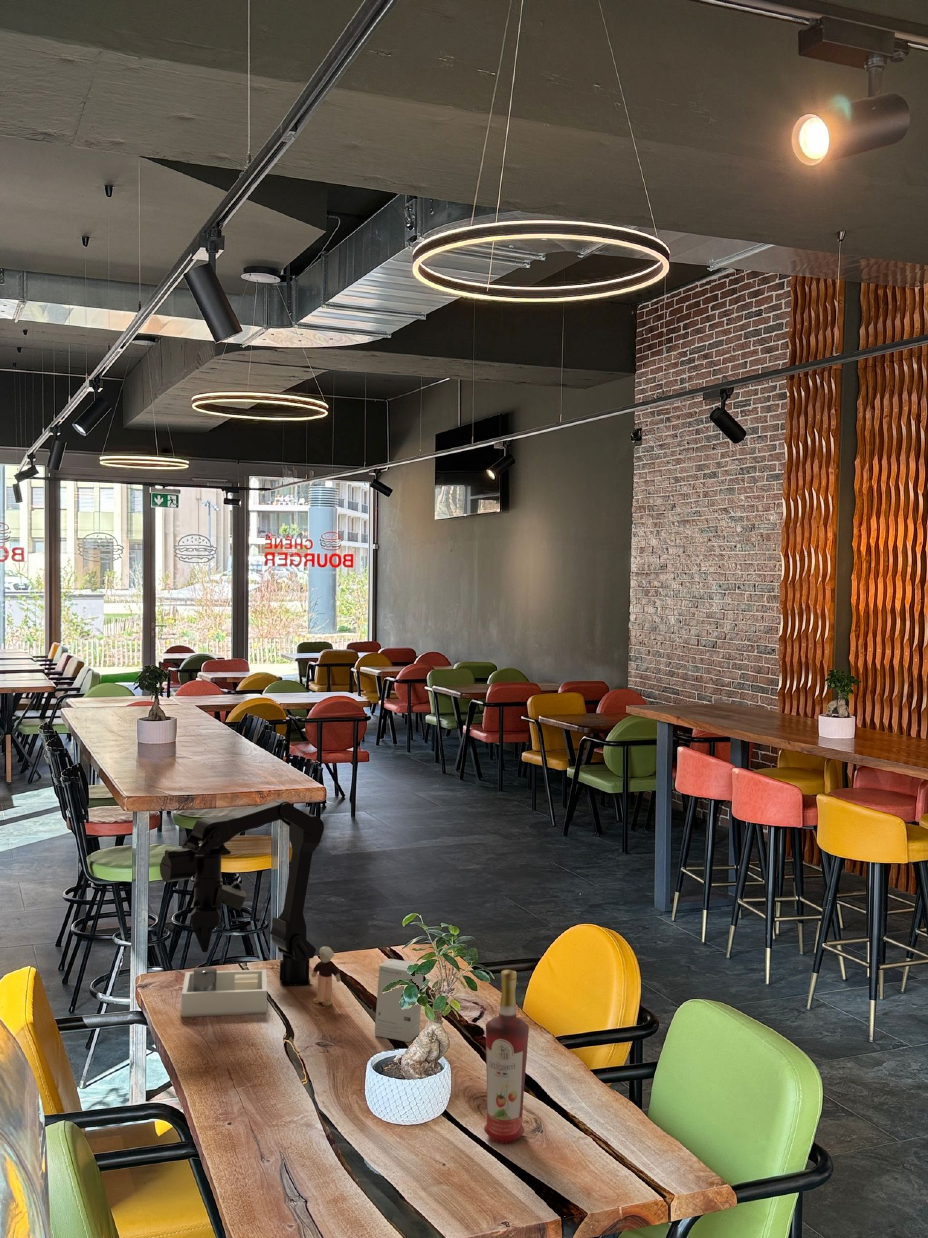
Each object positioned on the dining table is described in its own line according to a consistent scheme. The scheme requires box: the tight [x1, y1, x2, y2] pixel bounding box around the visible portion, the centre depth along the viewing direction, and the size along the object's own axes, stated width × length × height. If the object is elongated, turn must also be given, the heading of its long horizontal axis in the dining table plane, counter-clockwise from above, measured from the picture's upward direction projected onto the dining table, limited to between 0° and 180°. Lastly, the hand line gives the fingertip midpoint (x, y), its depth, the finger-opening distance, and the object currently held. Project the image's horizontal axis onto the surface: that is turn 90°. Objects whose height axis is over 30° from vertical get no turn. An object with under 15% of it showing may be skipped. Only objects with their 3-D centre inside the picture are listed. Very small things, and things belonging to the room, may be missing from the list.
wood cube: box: [234, 974, 258, 990], centre depth 243 cm, size 5×5×5 cm
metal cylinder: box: [193, 966, 218, 992], centre depth 242 cm, size 5×5×7 cm
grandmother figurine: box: [311, 946, 342, 1006], centre depth 245 cm, size 8×4×13 cm, turn 73°
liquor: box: [483, 969, 530, 1144], centre depth 185 cm, size 7×7×28 cm
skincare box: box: [374, 958, 424, 1043], centre depth 228 cm, size 8×6×15 cm
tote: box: [180, 969, 268, 1018], centre depth 242 cm, size 18×14×5 cm
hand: (206, 945), depth 243 cm, fingers open, 9 cm apart
